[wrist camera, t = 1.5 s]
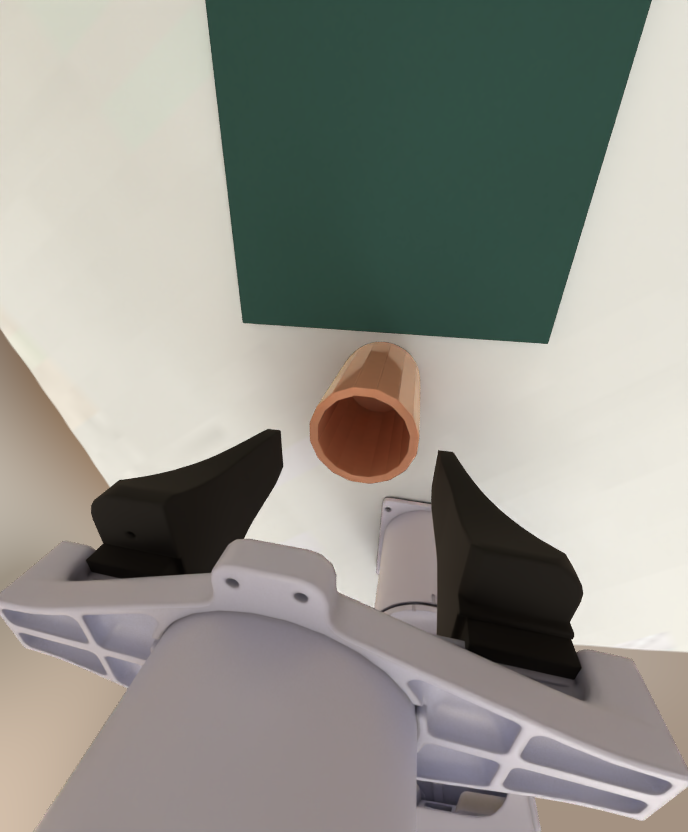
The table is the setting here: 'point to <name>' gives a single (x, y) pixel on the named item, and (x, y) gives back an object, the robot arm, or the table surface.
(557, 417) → the table surface
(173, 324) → the table surface
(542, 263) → the mat
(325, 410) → the brown cup
